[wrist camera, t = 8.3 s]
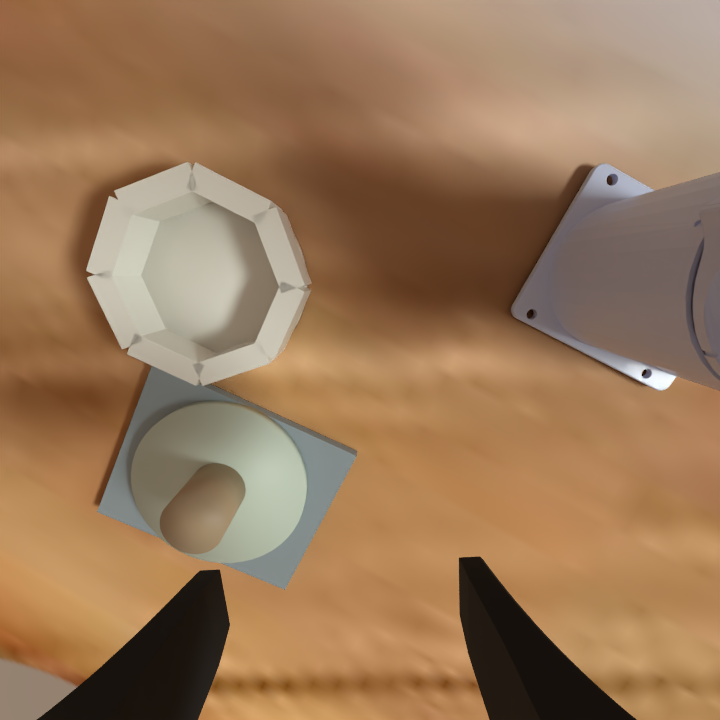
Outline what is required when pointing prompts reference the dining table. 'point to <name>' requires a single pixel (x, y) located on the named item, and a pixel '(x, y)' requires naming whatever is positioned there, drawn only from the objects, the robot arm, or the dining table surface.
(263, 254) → the octagonal storage bin
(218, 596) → the robot arm
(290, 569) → the mat
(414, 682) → the dining table surface
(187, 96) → the dining table surface
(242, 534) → the cover
